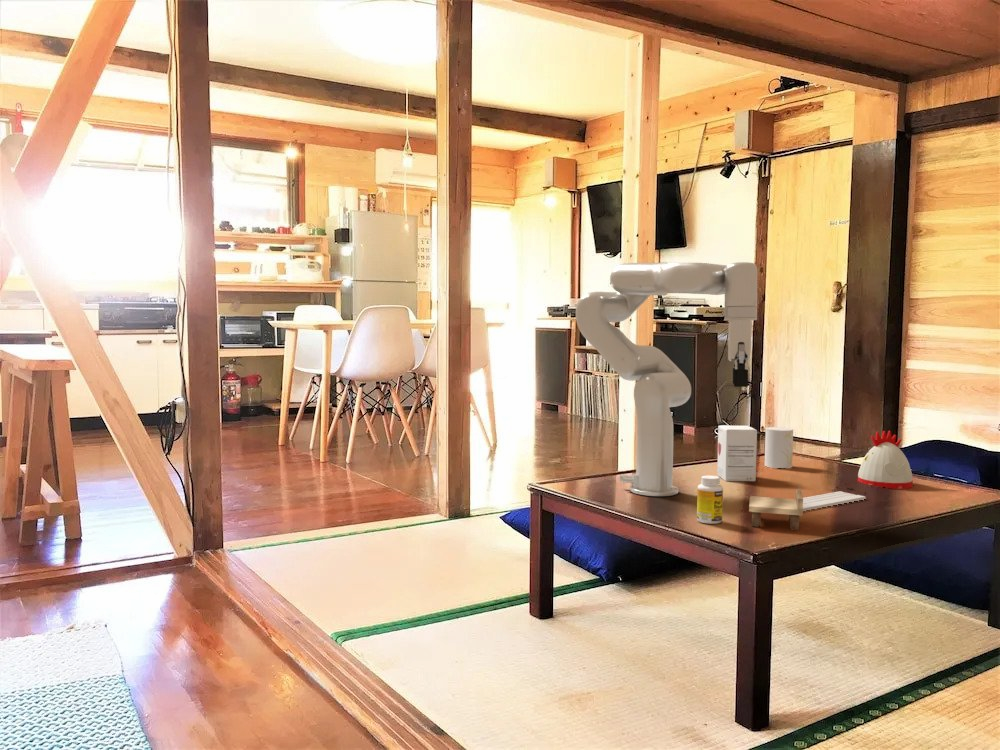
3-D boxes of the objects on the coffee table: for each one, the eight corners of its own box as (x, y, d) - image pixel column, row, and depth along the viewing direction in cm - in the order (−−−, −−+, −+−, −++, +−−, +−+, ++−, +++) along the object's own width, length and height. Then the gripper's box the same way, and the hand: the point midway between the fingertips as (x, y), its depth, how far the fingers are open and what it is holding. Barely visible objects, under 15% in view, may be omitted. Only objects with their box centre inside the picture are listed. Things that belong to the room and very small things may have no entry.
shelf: (748, 527, 176) (749, 495, 176) (749, 516, 187) (750, 485, 186) (802, 531, 173) (803, 499, 172) (799, 519, 183) (800, 489, 183)
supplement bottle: (715, 526, 177) (716, 480, 177) (692, 521, 181) (693, 477, 180) (726, 521, 182) (727, 476, 181) (703, 517, 185) (704, 473, 184)
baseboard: (754, 508, 197) (788, 517, 188) (754, 497, 197) (788, 505, 188) (831, 494, 213) (865, 502, 204) (831, 484, 213) (866, 491, 204)
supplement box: (716, 475, 237) (717, 424, 236) (746, 475, 237) (747, 425, 236) (724, 481, 228) (726, 429, 227) (756, 481, 228) (757, 429, 227)
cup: (788, 470, 246) (789, 431, 245) (761, 467, 250) (762, 429, 249) (794, 466, 252) (796, 428, 252) (768, 463, 257) (769, 426, 256)
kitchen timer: (849, 479, 232) (851, 427, 231) (897, 479, 232) (899, 427, 231) (871, 488, 218) (873, 434, 217) (922, 489, 218) (924, 434, 217)
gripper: (724, 315, 202) (723, 383, 203) (725, 313, 186) (724, 387, 186) (755, 314, 200) (754, 383, 201) (759, 313, 184) (758, 388, 185)
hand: (740, 385), depth 194 cm, fingers open, 9 cm apart
